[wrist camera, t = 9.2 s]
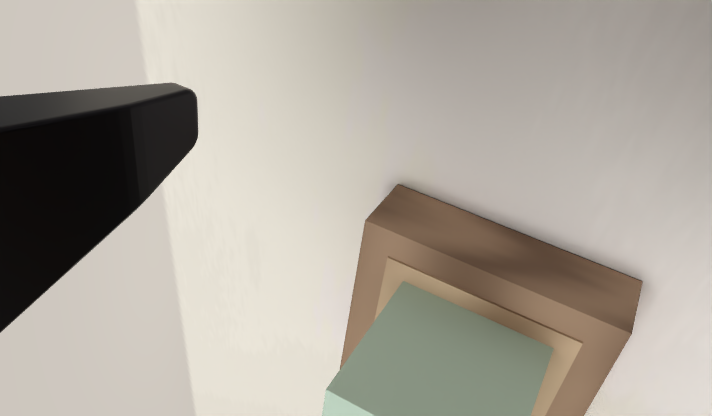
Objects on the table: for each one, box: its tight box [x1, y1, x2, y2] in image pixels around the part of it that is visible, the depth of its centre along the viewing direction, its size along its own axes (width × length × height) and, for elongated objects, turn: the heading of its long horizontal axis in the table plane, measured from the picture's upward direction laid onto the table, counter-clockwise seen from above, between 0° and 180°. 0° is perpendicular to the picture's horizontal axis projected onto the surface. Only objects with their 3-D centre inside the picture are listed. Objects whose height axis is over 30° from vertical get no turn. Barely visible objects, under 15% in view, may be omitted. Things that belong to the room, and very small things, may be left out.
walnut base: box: [340, 185, 642, 416], centre depth 26 cm, size 10×10×3 cm
